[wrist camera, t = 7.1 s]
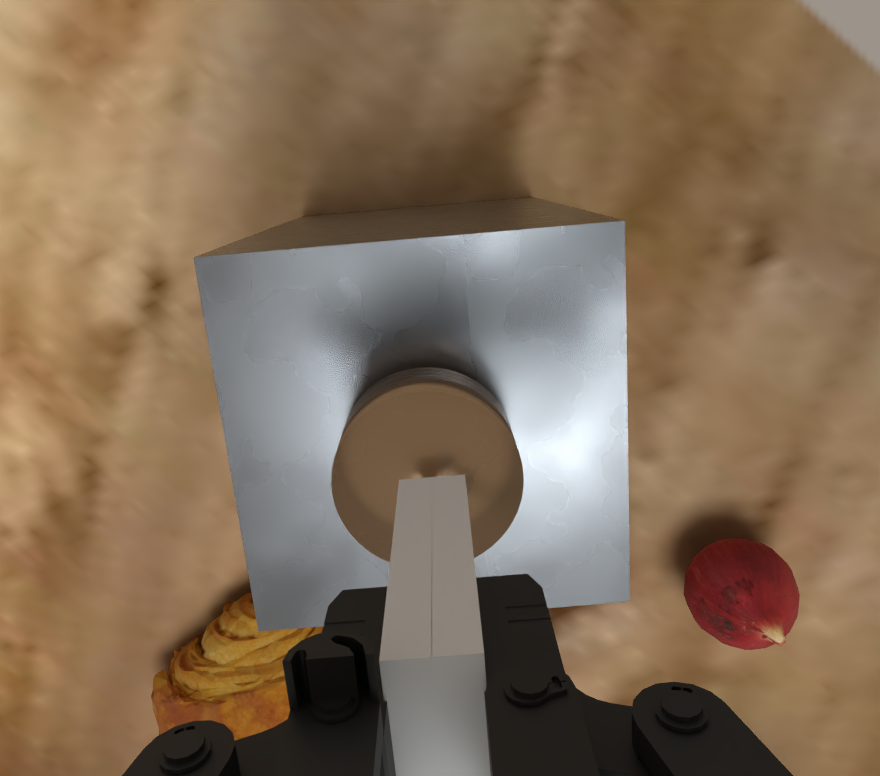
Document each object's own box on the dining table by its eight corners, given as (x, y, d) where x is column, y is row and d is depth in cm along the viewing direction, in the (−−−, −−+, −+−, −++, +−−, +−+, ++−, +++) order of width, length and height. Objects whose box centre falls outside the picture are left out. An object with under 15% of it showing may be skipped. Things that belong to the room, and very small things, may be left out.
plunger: (506, 233, 38) (592, 301, 18) (515, 399, 40) (600, 617, 21) (333, 248, 38) (231, 332, 18) (353, 412, 40) (282, 643, 21)
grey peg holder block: (532, 196, 39) (625, 220, 21) (542, 415, 42) (629, 601, 24) (302, 216, 39) (193, 257, 21) (330, 433, 42) (258, 631, 24)
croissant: (383, 548, 47) (376, 602, 39) (418, 774, 49) (418, 868, 41) (155, 580, 47) (102, 640, 39) (200, 805, 49) (158, 905, 41)
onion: (666, 604, 46) (714, 691, 38) (668, 518, 44) (719, 591, 37) (761, 597, 46) (828, 683, 38) (766, 511, 44) (838, 584, 37)
